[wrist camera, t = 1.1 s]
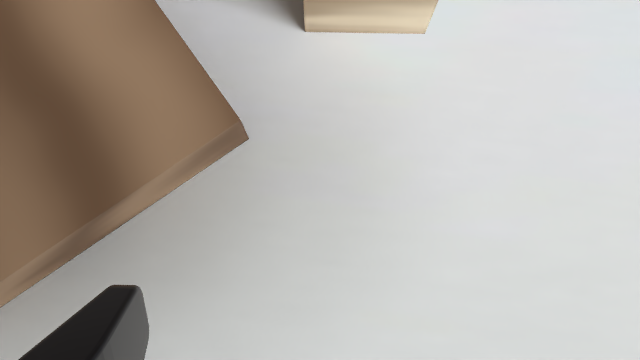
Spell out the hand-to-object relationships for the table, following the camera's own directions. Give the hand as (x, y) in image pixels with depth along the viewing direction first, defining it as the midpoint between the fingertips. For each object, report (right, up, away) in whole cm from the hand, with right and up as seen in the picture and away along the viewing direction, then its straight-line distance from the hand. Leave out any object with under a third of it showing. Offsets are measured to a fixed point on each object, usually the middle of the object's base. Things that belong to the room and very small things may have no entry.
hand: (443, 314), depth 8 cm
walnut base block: (-13, +5, +14) cm, 20 cm away
